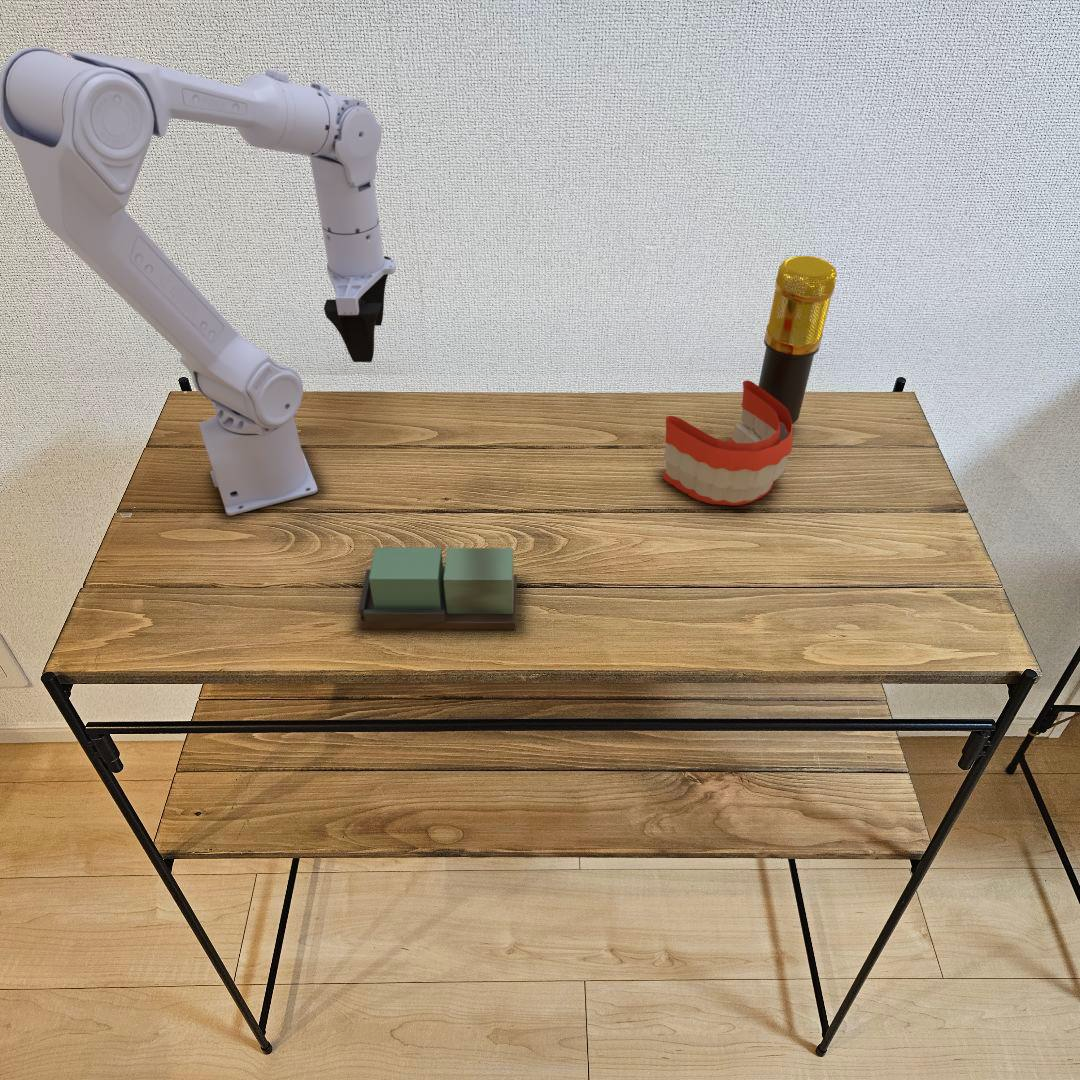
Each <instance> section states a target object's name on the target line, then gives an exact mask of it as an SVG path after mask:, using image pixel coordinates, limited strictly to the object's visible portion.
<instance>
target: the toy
mask: <svg viewBox="0 0 1080 1080" xmlns="http://www.w3.org/2000/svg"><path fill="white" fill-rule="evenodd" d="M740 417H741V418H740V420H741V423H736V424H735V425H734V428H733V432H732V436H731V438H730V439H729V440H723V439H719V438H717V437H714V436H712V435H710V434H708V433H706V432H704V431H702V430H701V429H699V428H697V427H695V426H694V425H692V424H691V423H689V422H687V421H686V420H684V419H682V418H680V417H678V416H674V415H668V416H666V417H665V443H666V445H665V449H664V453H663V459H664V461H665V465H666V467H665V470H664V472H663V473H662V478H663V480H664V482H667V483H668V484H670V485H672V486H673V487H674V488H676V490H679V491H681V492H682V493H684V494H686V495H687V496H689V497H690V498H692V499H694V500H696V501H700V502H703V503H705V504H709V505H720V506H741V505H746V504H749V503H752V502H755V501H758V500H759V499H760V498H763V497H764V496H765V495H767V494H768V493H769V492H770V491H771V490H772V488H773V487H774V482H775V481H776V480H778V479H779V477H781V476H782V475H783V473H784V471H785V470H786V467H787V463H788V459H789V456H790V454H791V453H792V451H793V450H792V449H793V432H794V431H793V430H794V427H793V425H792V418H791V415H790V412H789V410H788V409H787V408H786V407H785V406H784V405H783V404H782V403H780V402H779V401H778V400H777V399H775V398H774V397H773V396H771V395H770V394H769V393H767V392H766V391H765V390H763V389H762V388H760V387H759V386H758V384H756V383H755V382H753V381H751V380H748V379H747V380H743V382H742V402H741V416H740ZM751 429H752V430H754V432H752V430H751Z"/></svg>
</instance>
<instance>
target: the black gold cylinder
mask: <svg viewBox="0 0 1080 1080" xmlns="http://www.w3.org/2000/svg"><path fill="white" fill-rule="evenodd" d="M837 274H838V273H837V270H836V267H835V266H834V265H833V264H832V263H830V262H829V261H828V260H825V259H823V258H821V257H818V256H817V257H816V256H813V255H796V256H791V257H789V258H786V259H785V260H783V262H782V263H780V265H779V267H778V271H777V275H776V278H775V282H774V295H773V299H772V305H771V310H770V315H769V320H768V323H767V325H766V328H765V332H764V339H763V343H764V346H765V351H764V356H763V362H762V367H761V371H760V376H759V381H758V384H757V386H759V387H760V388H762V389H763V390H765V391H766V392H767V393H769V394H770V395H771V396H773V397H774V398H775V399H777V400H778V401H779V402H780V403H782V404H783V405H784V406H785V407H786V408H787V409H788V410H789V412H790V415H791V418H792V426H793V425H794V424H795V423H796V422H798V420H799V418H800V414H801V410H802V405H803V401H804V397H805V394H806V389H807V386H808V381H809V376H810V373H811V368H812V365H813V360H814V358H815V355H816V354H817V353H818V352H819V350H820V347H821V344H822V339H823V336H824V335H823V332H824V327H825V325H826V324H825V323H826V320H827V316H828V311H829V307H830V303H831V299H832V297H833V295H834V293H835V292H834V291H835V286H836V281H837V278H838V277H837Z"/></svg>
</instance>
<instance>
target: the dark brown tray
mask: <svg viewBox="0 0 1080 1080" xmlns="http://www.w3.org/2000/svg"><path fill="white" fill-rule="evenodd" d="M444 561H445V563H444V565H443V570H444V579H443V580H444V593H443V603H442V610H375V609H374V604H373V598H372V593H371V587H370V582H369V576H370V571H371V569H366V571H365V576H364V580H363V581H364V582H363V586H362V591H361V596H360V600H359V607H358V613H359V617H360V619H359V625H360V630H453V631H454V630H456V631H457V630H463V631H464V630H465V631H467V630H474V631H476V630H478V631H479V630H481V631H483V630H484V631H485V630H489V631H490V630H491V631H492V630H493V631H494V630H495V631H496V630H497V631H498V630H504V631H505V630H506V631H508V630H513V631H515V630H517V601H518V600H517V598H518V575H516V574H515V569H514V568H515V567H514V566H515V565H514V548H512V547H447V548H446V553H445V560H444Z"/></svg>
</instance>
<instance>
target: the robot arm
mask: <svg viewBox="0 0 1080 1080" xmlns="http://www.w3.org/2000/svg"><path fill="white" fill-rule="evenodd" d="M66 53H67V54H68V55H69V56H70V57H68V56H64V55H63V54H61V53H59V52H57V51H55V50H53V49H50V48H47V47H43V46H28V47H23V48H21V49H18V50H17V51H15V52H13V53H12V54H11V55H10V56H9V57H8V58H7V59H6V61H5V62H4V64H3V66H2V68H1V70H0V128H1V129H2V131H3V132H4V133H5V135H6V136H7V138H8V139H9V140H10V142H11V143H12V145H13V147H14V148H15V151H16V154H17V156H18V160H19V163H20V165H21V167H22V171H23V173H24V176H25V179H26V182H27V184H28V187H29V190H30V193H31V195H32V198H33V201H34V204H35V207H36V209H37V212H38V214H39V217H40V219H41V220H42V222H43V223H44V224H45V226H46V227H47V228H48V229H49V230H50V231H51V232H52V233H53V234H54V235H55V236H56V237H57V238H59V239H60V240H61V241H62V243H64V244H65V245H66V247H68V248H69V249H70V250H71V251H72V252H73V253H74V254H75V255H76V256H77V257H78V258H79V259H80V260H82V261H83V262H84V263H85V264H86V265H87V266H88V267H89V268H90V269H91V270H92V271H93V272H94V273H95V274H96V275H97V276H98V277H100V279H101V280H103V281H104V282H105V284H107V285H108V286H109V287H110V288H111V290H113V291H114V292H115V293H116V294H117V295H118V296H119V297H121V299H122V300H123V301H124V302H126V303H127V304H128V305H129V306H130V307H131V308H132V309H133V310H134V311H135V312H136V313H137V314H138V315H139V316H140V317H142V319H144V320H145V321H146V322H147V323H148V324H149V325H150V326H151V327H152V328H153V329H154V330H155V331H156V332H157V333H159V335H160V336H161V337H162V338H164V339H165V340H166V341H167V342H168V343H169V344H170V345H171V346H172V347H173V348H174V349H175V350H176V351H177V352H178V353H179V354H181V356H180V358H179V361H180V363H181V365H183V366H184V367H185V368H186V369H187V370H188V372H189V374H190V377H191V380H192V383H193V386H194V387H195V389H196V391H197V393H199V394H200V395H201V396H203V397H204V398H207V399H209V400H211V403H212V407H213V411H214V412H216V414H215V415H214V416H212V417H209V418H207V419H206V420H203V421H201V422H198V425H199V431H200V433H201V437H202V440H203V444H204V446H205V449H206V454H207V456H208V459H209V462H210V465H211V469H212V470H210V471H209V472H210V473H209V474H210V476H211V480H212V483H213V485H214V488H218V490H219V491H218V492H219V494H220V497H221V500H222V503H223V507H224V510H225V513H226V515H227V516H234V515H238V514H242V513H246V512H250V511H254V510H258V509H262V508H265V507H268V506H269V507H270V506H273V505H276V504H280V503H285V502H288V501H292V500H295V499H299V498H304V497H307V496H310V495H314V494H316V493H318V491H319V489H318V486H317V483H316V481H315V478H314V476H313V473H312V470H311V469H310V466H309V464H308V462H307V458H306V456H305V454H304V451H303V449H302V446H301V442H300V437H299V433H298V428H297V424H296V420H295V419H296V418H295V417H296V416H297V412H298V410H299V409H300V406H301V404H302V401H303V395H304V386H303V385H304V384H303V380H302V379H301V376H300V374H299V373H298V372H297V371H296V370H295V369H293V368H292V367H290V366H288V365H284V364H280V363H277V362H276V361H274V360H273V359H272V358H271V357H270V355H269V354H268V353H266V352H264V351H263V350H262V349H261V348H260V347H257V346H256V345H255V344H254V343H252V342H251V341H249V340H248V339H247V338H245V337H244V336H243V335H241V334H240V333H239V332H238V331H237V330H236V329H235V328H234V327H233V326H232V325H231V324H230V323H229V321H228V320H227V319H226V318H225V317H224V316H223V315H222V314H221V313H220V312H219V310H218V309H216V307H214V305H213V304H212V303H211V302H210V301H209V300H208V299H207V298H206V296H205V295H204V294H203V293H202V292H201V291H200V290H199V289H198V288H197V287H196V286H195V284H193V282H191V280H190V279H189V278H188V277H187V276H186V275H185V274H184V273H183V272H182V271H181V270H180V269H179V267H178V266H177V265H176V264H175V262H173V260H171V259H170V258H169V256H168V255H167V254H166V253H165V252H164V251H163V250H162V248H160V247H159V246H158V245H157V244H156V243H155V241H154V240H153V239H152V238H151V237H150V236H149V235H148V234H147V233H146V232H145V231H144V230H143V228H142V227H141V226H140V224H138V223H137V222H136V221H135V220H134V219H133V218H132V217H131V216H130V215H129V213H128V212H127V211H126V207H127V206H128V204H129V201H130V198H131V195H132V193H133V190H134V188H135V185H136V182H137V180H138V177H139V174H140V171H141V169H142V167H143V163H144V161H145V158H146V156H147V154H148V150H149V147H150V145H151V142H152V138H153V136H155V137H158V138H163V137H164V136H165V135H166V134H167V130H168V128H169V125H170V121H171V119H177V120H183V121H190V122H196V123H204V124H210V125H217V126H224V127H231V128H236V130H237V131H238V133H239V135H240V136H241V138H242V139H243V140H244V141H245V142H246V143H247V145H250V146H251V147H254V148H258V149H263V150H269V151H270V150H271V151H276V152H282V153H288V154H294V155H300V156H306V157H309V160H310V165H311V171H312V177H313V183H314V190H315V194H316V201H317V207H318V212H319V218H320V224H321V230H322V238H323V242H324V248H325V254H326V259H327V260H326V261H327V263H326V271H327V275H328V277H329V280H330V282H331V285H332V288H333V290H334V293H335V299H333V298H332V299H331V298H327V299H326V301H325V303H324V305H323V311H324V315H325V317H326V319H327V320H329V322H330V323H331V324H332V325H333V326H334V327H335V329H336V330H337V331H338V333H339V335H340V337H341V338H342V341H343V343H344V345H345V347H346V351H347V352H348V355H349V357H350V358H351V360H352V362H353V363H372V362H373V359H374V353H375V330H376V329H375V328H376V327H379V326H382V323H383V318H384V309H385V306H384V305H385V293H386V285H387V279H388V277H389V275H393V274H395V272H396V269H397V262H396V260H395V259H392V258H391V257H390V256H386V255H385V256H384V251H383V250H384V249H383V244H382V235H381V234H382V233H381V227H380V219H379V210H378V209H379V208H378V202H377V194H376V186H375V179H376V173H377V172H378V166H377V155H378V152H379V149H380V146H381V142H382V136H383V126H382V124H379V123H378V120H377V118H376V116H375V114H374V113H373V111H372V109H371V108H370V107H368V103H366V102H365V101H363V100H362V99H358V98H354V97H350V96H347V95H344V94H339V93H335V92H332V91H329V90H330V89H329V86H328V85H326V84H322V83H318V82H316V81H313V82H311V84H310V86H309V85H304V84H300V83H296V82H292V81H289V77H290V76H289V74H288V73H286V72H282V71H278V70H276V69H271V68H266V69H265V74H262V73H254V74H251V75H249V76H247V77H245V78H244V79H243V80H242V81H241V83H240V84H239V85H238V86H237V85H234V84H233V85H232V84H229V83H225V82H222V81H218V80H214V79H210V78H208V77H207V78H206V77H203V76H200V75H195V74H192V73H189V72H185V71H182V70H178V69H173V68H170V67H166V66H161V65H158V64H156V63H152V62H147V61H144V60H141V59H136V58H133V57H126V56H118V55H111V54H110V55H109V54H102V53H95V52H94V53H93V52H88V51H87V52H86V51H74V50H73V51H72V50H67V51H66Z"/></svg>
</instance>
